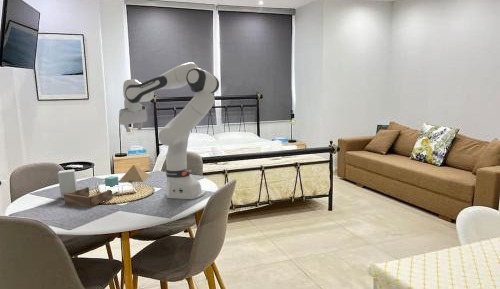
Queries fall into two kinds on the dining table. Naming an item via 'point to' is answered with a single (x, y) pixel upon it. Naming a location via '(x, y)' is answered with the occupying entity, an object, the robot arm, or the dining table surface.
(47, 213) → the dining table surface
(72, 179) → the skincare box
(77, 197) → the walnut crate
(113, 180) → the teal block
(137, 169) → the model pyramid
